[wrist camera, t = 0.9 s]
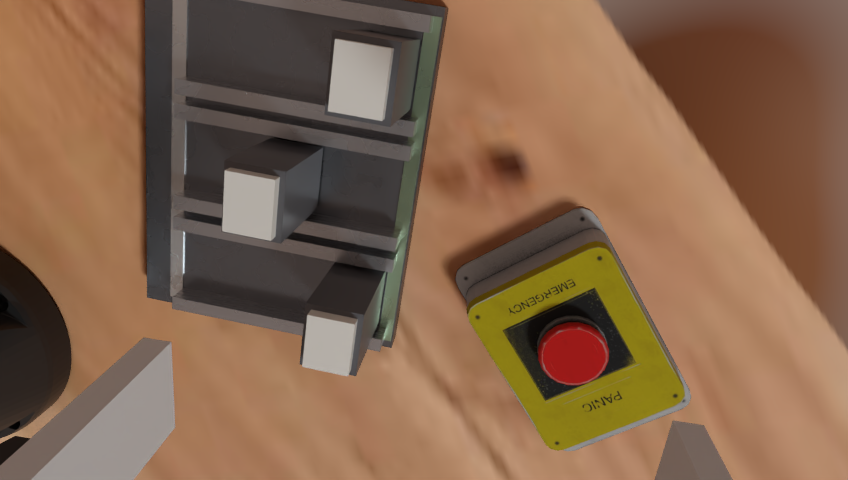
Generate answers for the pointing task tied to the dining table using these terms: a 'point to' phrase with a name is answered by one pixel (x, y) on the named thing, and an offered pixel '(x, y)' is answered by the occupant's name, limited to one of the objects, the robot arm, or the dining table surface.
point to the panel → (287, 120)
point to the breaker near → (371, 76)
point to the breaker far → (341, 319)
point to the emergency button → (571, 333)
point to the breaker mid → (270, 189)
